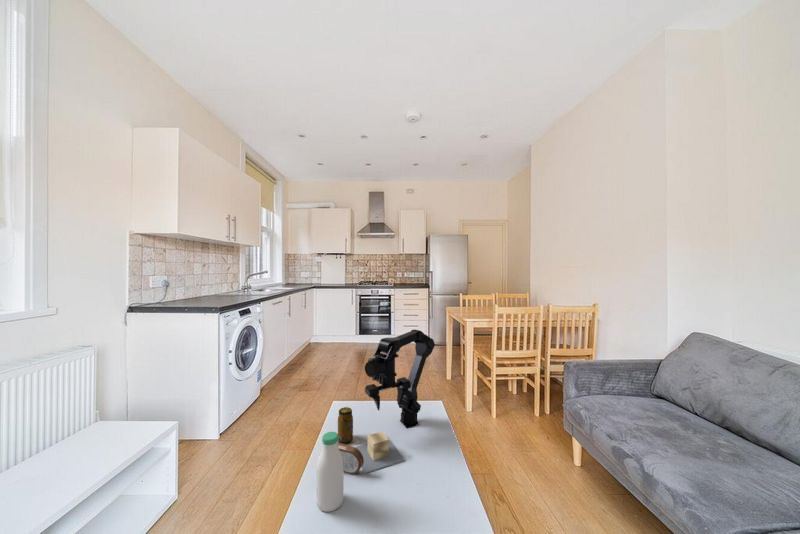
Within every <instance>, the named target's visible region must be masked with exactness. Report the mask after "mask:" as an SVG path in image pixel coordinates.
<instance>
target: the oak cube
mask: <svg viewBox="0 0 800 534" xmlns="http://www.w3.org/2000/svg"><path fill="white" fill-rule="evenodd" d="M388 438H389V437H387V436H386V434H385V433H384V432H383V431H379V432H375V433H372V434H368V435H367V444H368V453H369V455H370V456H371V458H372V459H373V461H374V460H378V459H381V458H384V457H387V456H389V440H390V439H389V440H388Z"/></svg>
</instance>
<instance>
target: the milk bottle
mask: <svg viewBox="0 0 800 534" xmlns="http://www.w3.org/2000/svg"><path fill="white" fill-rule="evenodd" d="M321 441H322V442H321V443H322V449H321V452H320V454H319V457H318V459H317V465H316V505H317V508H318V509H319V510H320V511H322V512H325V513H326V512H327V513H328V512H329V513H330V512H333V511H336V510H338V509H339V508H340V507H341V506H342V504H343V503H344V472H343V458H342V455H341V453H340V451H339V448H338V445H337V443H338V432H336V431H327V432H325V433H324V434H323V435H322V438H321Z"/></svg>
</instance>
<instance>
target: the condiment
mask: <svg viewBox="0 0 800 534" xmlns="http://www.w3.org/2000/svg"><path fill="white" fill-rule="evenodd" d="M337 416H338V417H337V434H338V443H340V444H344V445H349V446H353V445H355V444H357V443H359V442H360V440H359V439H357V438H356V437H355V436H353V434H354V417H353V410H352V408H351V407H348V406H346V407H345V406H343V407H341V408H339V410H338V415H337Z"/></svg>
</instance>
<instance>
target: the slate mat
mask: <svg viewBox="0 0 800 534" xmlns="http://www.w3.org/2000/svg"><path fill="white" fill-rule="evenodd" d="M387 438H388V440H389V456H387V457H384V458H381V459H378V460H374V461H373V459H372V458H371V456H370V455H369V453H368V443H365V444H362V445H358V446H354V447H355V448H357V449H358V450H359V451H360V452H361V453H362V455H363V459H364V463H363V466H362V467H361V468H362V470H363V471H364V473H365V474H367V475H368V474H370V473H372V472H375V471H378V470H381V469H385V468H388V467H390V466H394V465H396V464H400V463H403V462H405V461H406V458H404V456H403V454H401V452H400V451H399V450H398V449H397V448H396V445H394V444H393V442H392V441H391V440H390V438H389V437H387Z"/></svg>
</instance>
